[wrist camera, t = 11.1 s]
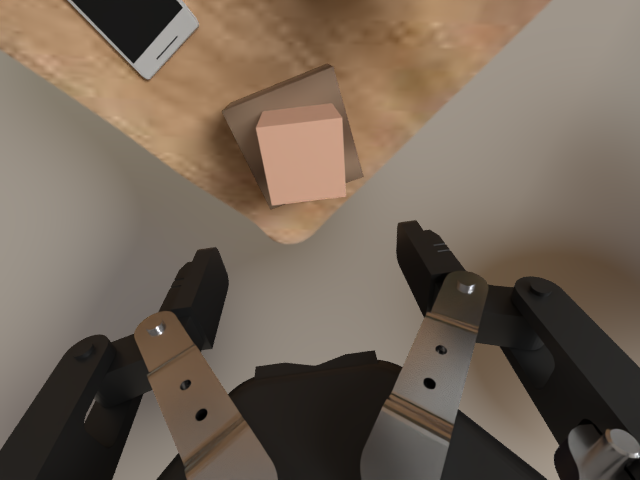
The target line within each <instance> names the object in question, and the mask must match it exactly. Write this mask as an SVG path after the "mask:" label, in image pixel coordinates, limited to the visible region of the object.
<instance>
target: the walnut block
mask: <svg viewBox="0 0 640 480" xmlns="http://www.w3.org/2000/svg"><path fill="white" fill-rule="evenodd" d="M329 103H332V104H333V105H334V107H335V108H336V109H337V111H338V112H339V114H340V115H341V117H342V123H343V143H344V163H345V183H347V182H350V181H353V180H356V179H359V178H361V177H364V176H363V173H362V169H361V165H360V162H359V158H358V155H357V151H356V147H355V144H354V140H353V136H352V133H351V129H350V125H349V122H348V118H347V114H346V111H345V107H344V104H343V100H342V96H341V93H340V89H339V85H338V82H337V78H336V74H335V71H334V67H333V66H331V65H329V64H325V65H323V66H320V67H318V68H315V69H313V70H310V71H308V72H305V73H303V74H300V75H298V76H296V77H293V78H291V79H288V80H286V81H283V82H281V83H278V84H276V85H273V86H271V87H268V88H266V89H263V90H261V91H258V92H256V93H253V94H251V95H249V96H246V97H244V98H241V99H239V100H236V101H234V102H231V103H230V104H229V105H228V106H227V107H226V108H225V109H224V110H223V111H222V113H223V115H224V117H225V119H226V121H227V123H228V125H229V127H230V129H231V131H232V133H233V135H234V137H235V139H236V141H237V143H238V145H239V147H240V149H241V151H242V153H243V155H244V157H245V159H246V161H247V163H248V165H249V167H250V169H251V171H252V173H253V175H254V177H255V179H256V181H257V183H258V185H259V187H260V189H261V191H262V193H263V195H264V197H265V199H266V201H267V203H268V205H269V207H270V209H273V208H276V207H279V206H282V205H285V204H281V205H273V206H272V204H271V199H270V194H269V189H268V184H267V179H266V175H265V170H264V165H263V160H262V155H261V151H260V146H259V141H258V136H257V131H256V126H257V124H258V121H259V119H260V116H261V114H262V112H263V111H270V110H279V109H287V108H296V107H304V106H312V105H321V104H329Z"/></svg>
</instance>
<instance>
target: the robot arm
mask: <svg viewBox="0 0 640 480" xmlns="http://www.w3.org/2000/svg"><path fill="white" fill-rule="evenodd" d="M396 253H397V260H398V264H399V266H400V268H401V270H402V272H403V274H404V276H405V279H406V281H407V283H408V285H409V287H410V289H411V291H412V293H413V295H414V297H415V299H416V302H417V304H418V306H419V308H420V310H421V312H422V314H423V316H424V320H423V322H422V324H421V327H420V329H419V331H418V333H417V336H416V338H415V340H414V343H413V345H412V347H411V349H410V352H409V354H408V356H407V358H406V361H405V363H404V366H403V367H401V366H399V365H396V364H394V363H391V362H388V361H383V360H377V357H376V354H375V351H367V352H360V353H353V354H345V355H343V356H340V357H338V358H335V359H333V360H330V361H327V362H325V363H322V364H320V365H316V366H311V365H301V364H292V363H279V364H272V365H266V366H258V367H256V370H255V377H253V378H251V379H249V380H247V381H245V382H243V383H242V384H240V385H238V386H237V387H236V388H235V389H233V390H232V391H231V392H230V393H229V394H227V392H226V391H225V389H224V388H223V386H222V385H221V383H220V382H219V380H218V379H217V377H216V376H215V374H214V372H213V371H212V369H211V368H210V366H209V365H208V363H207V362H206V360H205V358H204V357H203V355H202V354H201V350H205V349H212V348H213V344H214V340H215V337H216V333H217V329H218V325H219V321H220V317H221V314H222V310H223V306H224V302H225V298H226V295H227V291H228V285H229V280H228V274H227V272H226V269H225V266H224V264H223V261H222V258H221V256H220V253H219V251H218V249H217V248H216V247H214V248H206V249H199V250H197V252H196V254H195V256H194V259H193V261H192V262H188V263H186V264H185V265H184V266H183V267H182V268H181V269H180V270H179V272H178V274H177V276H176V278H175V281H174V282H173V284H172V286H171V288H170V290H169V292H168V294H167V296H166V298H165V300H164V302H163V304H162V306H161V308H160V310H159V312H158V313H155V314H153V315H151V316H149V317H147V318H146V319H144V320H143V321H142V322H141V323H140V324H139V325H138V327H137V328H136V330H135V333H134V334H132V335H130V336H127V337H124V338H122V339H119V340H116V341H114V342H110V340H109V339H108V338H107V337H106V336H104V335H94V336H90V337H87V338H85V339H83V340H81V341H79V342H78V343H76V344H75V345H73V346H72V347H71V348H70V349H69V350H68V351H67V352H66V353H65V355H64V356H63V357H62V359H61V360H60V362H59V363H58V365H57V366H56V368H55V369H54V371H53V372H52V374H51V375H50V377H49V378H48V380H47V381H46V383H45V384H44V386H43V387H42V389H41V390H40V392H39V393H38V395H37V396H36V398H35V399H34V401H33V402H32V404H31V405H30V407H29V408H28V410H27V411H26V413H25V414H24V416H23V417H22V419H21V420H20V422H19V423H18V425H17V426H16V428H15V429H14V431H13V432H12V434H11V435H10V437H9V438H8V440H7V441H6V443H5V444H4V446H3V447H2V449H1V450H0V480H112V479H113V475H114V473H115V470H116V468H117V465H118V462H119V459H120V457H121V454H122V451H123V448H124V446H125V443H126V440H127V437H128V435H129V432H130V429H131V427H132V424H133V421H134V418H135V416H136V413H137V410H138V407H139V405H140V402H141V399H142V396H143V394H144V393H146V392H148V391H151V390H153V392H154V394H155V397H156V399H157V401H158V404H159V406H160V409H161V411H162V414H163V416H164V418H165V420H166V423H167V425H168V428H169V430H170V432H171V435H172V437H173V440H174V442H175V445H176V447H177V449H178V452H179V453H178V454H177V455H176V457H175V458H174V459H173V460H172V462H171V463H170V464H169V465H168V466H167V467H166V469H165V470H164V471H163V472H162V474H161V475H160V476H159V477H158V478H157V480H547V479H546V478H545V477H544V476H543V475H541V474H540V473H539V472H538V471H536V470H535V469H534V468H532V467H531V466H530V465H529V464H527V463H526V462H525V461H523V460H522V459H521V458H520V457H518V456H517V455H516V454H515V453H513V452H512V451H511V450H510V449H508V448H507V447H506V446H504V445H503V444H502V443H501V442H499V441H498V440H497V439H495V438H494V437H493V436H492V435H490V434H489V433H488V432H486V431H485V430H484V429H483V428H482V427H480V426H479V425H478V424H476V423H475V422H474V421H473V420H471V419H470V418H469V417H468V416H466V415H465V414H464V413H462V412H461V411H460V410H459V409H458V407H459V403H460V399H461V395H462V391H463V388H464V383H465V380H466V375H467V372H468V368H469V364H470V360H471V357H472V353H473V349H474V345H475V343H482V344H490V345H497V346H500V348H501V349H502V351H503V353H504V354H505V356H506V357H507V359H508V361H509V363H510V364H511V366H512V368H513V369H514V371H515V373H516V374H517V376H518V378H519V379H520V381H521V383H522V384H523V386H524V387H525V389H526V391H527V392H528V394H529V396H530V397H531V399H532V401H533V402H534V404H535V406H536V407H537V409H538V411H539V412H540V414H541V416H542V417H543V419H544V421H545V422H546V424H547V426H548V427H549V429H550V431H551V432H552V434H553V436H554V437H555V439H556V441H557V442H558V444H559V447H558V448H557V450H556V451H555V454H554V465H555V468H556V471H557V473H558V476H559V478H560V480H640V368H639V367H638V366H637V364H636V363H635V362H634V361H632V360H631V359H630V358H629V356H628V355H627V354H626V353H625V352H623V350H622V349H621V348H620V347H619V346H618V345H617V344H616V343H615V342H614V341H613V340H612V339H611V338H610V337H609V336H608V335H607V334H606V333H605V332H604V331H603V330H602V329H601V328H600V327H599V326H598V325H597V324H596V323H595V322H594V321H593V320H592V319H591V318H590V317H589V316H588V315H587V314H586V313H585V312H584V311H583V310H582V309H581V308H580V307H579V306H578V305H577V304H576V303H575V302H574V301H573V300H572V299H571V298H570V297H569V296H568V295H567V294H566V293H565V292H564V291H563V290H562V289H561V288H560V287H559V286H557V285H556V284H554V283H553V282H551V281H549V280H546V279H543V278H539V277H523V278H520V279H519V280H517V281H516V283H515V286H514V287H503V286H493V285H488V284H487V282H486V281H485V280H484V279H483V278H482V277H480V276H479V275H477V274H475V273H472V272H468V271H466V270H465V269H464V268H463V266H462V265H461V264H460V262H459V261H458V260H457V259H456V257H455V256H454V255H453V253H452V252H451V251H450V250H449V248H448V247H447V245H445V243H444V241H443V240H442V239H441V237H440V236H439V235H437V234H436V233H434V232H432V231H431V230H425V231H423V229H422V228H421V226H420V225H419V223H418V222H417V221H415V220H414V221H407V222H401V223H398V226H397V248H396ZM93 399H95V400H96V401H95V403H94V405H93V407H92V409H91V411H90V413H89V415H88V417H87V419H86V421H85V423H84V419H85V416H86V413H87V411H88V409H89V407H90V405H91V403H92V401H93Z"/></svg>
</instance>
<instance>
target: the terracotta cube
mask: <svg viewBox="0 0 640 480" xmlns="http://www.w3.org/2000/svg"><path fill="white" fill-rule="evenodd" d="M256 131H257V136H258V141H259V146H260V151H261V155H262V160H263V165H264V170H265V175H266V179H267V184H268V189H269V194H270V199H271V204H272V206H273V205H281V204H289V203H297V202H305V201H313V200H321V199H329V198H337V197H346V183H345V163H344V143H343V123H342V117H341V115H340V114H339V112H338V111H337V109H336V108H335V107H334V105H333V104H332V103H329V104H321V105H312V106H304V107H296V108H287V109H279V110H270V111H263V112H262V114H261V116H260V119H259V121H258V124H257V126H256Z"/></svg>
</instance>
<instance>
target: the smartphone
mask: <svg viewBox="0 0 640 480" xmlns="http://www.w3.org/2000/svg"><path fill="white" fill-rule="evenodd" d="M68 1H69V2H70V3H71V4H72V5H73V6H74V8H75V9H76V10H77V11H78V12H79V13H80V14H81V15H82V16H83V17H84V18H85V19H86V20H87V21H88V22H89V23H90V24H91V25H92V26H93V27H94V28H95V29H96V30H97V31H98V32H99V33H100V34H101V35H102V36H103V37H104V38H105V39H106V40H107V41H108V42H109V43H110V44H111V45H112V46H113V47H114V48H115V49H116V50H117V51H118V52H119V53H120V54H121V55H122V56H123V57H124V58H125V59H126V60H127V61H128V62H129V63H130V64H131V65H132V66H133V67H134V68H135V69H136V70H137V72H138V73H139V74H140V75H142V76H143V77H144V78H146V79H151V78H152V77H153V76H154V75H155V74H156V73H157V72H158V71H159V70H160V68H161V67H162V66H163V65H164V64H165V63H166V62H167V61H168V60H169V59H170V58H171V56H172V55H173V54H174V53H175V52H176V51H177V50H178V49H179V48H180V47H181V46H182V44H183V43H184V42H185V41H186V40H187V39H188V38H189V37H190V36H191V35H192V34H193V33H194V31H195V30H196V29H197V28H198V27H199V22H198V20H197V18H196V17H195V16H194V14H193V13H192V12H191V11H190V9H189V8H188V7H187V6H186V4H185V3H184V2H183V1H182V0H68Z"/></svg>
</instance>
